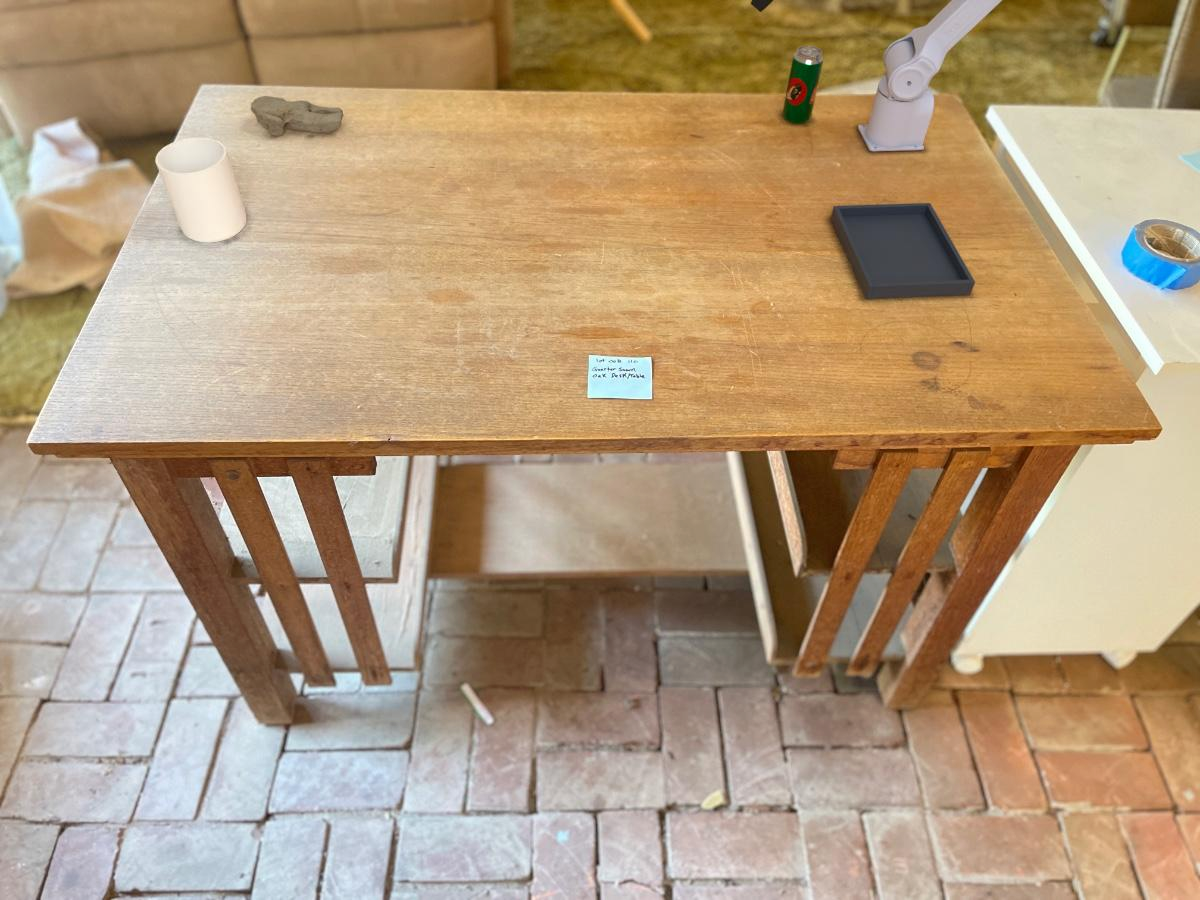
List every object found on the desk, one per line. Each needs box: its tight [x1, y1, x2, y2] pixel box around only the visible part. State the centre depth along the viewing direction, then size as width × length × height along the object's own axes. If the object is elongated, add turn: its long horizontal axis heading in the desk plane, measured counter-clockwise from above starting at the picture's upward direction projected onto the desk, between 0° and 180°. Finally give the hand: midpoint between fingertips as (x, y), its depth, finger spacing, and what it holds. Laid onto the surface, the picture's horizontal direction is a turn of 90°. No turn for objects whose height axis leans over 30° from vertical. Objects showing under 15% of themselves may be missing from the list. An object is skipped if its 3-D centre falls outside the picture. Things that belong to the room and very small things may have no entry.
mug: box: [154, 136, 247, 244], centre depth 133 cm, size 10×12×12 cm
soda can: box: [781, 45, 824, 125], centre depth 157 cm, size 5×5×12 cm
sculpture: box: [250, 95, 344, 137], centre depth 154 cm, size 7×5×15 cm
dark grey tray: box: [830, 202, 976, 300], centre depth 136 cm, size 15×19×2 cm
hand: (762, 1), depth 143 cm, fingers open, 7 cm apart
